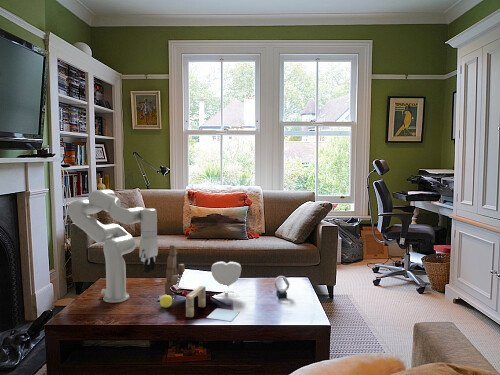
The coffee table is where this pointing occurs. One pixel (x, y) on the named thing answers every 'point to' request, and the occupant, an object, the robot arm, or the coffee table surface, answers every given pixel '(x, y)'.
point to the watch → (281, 293)
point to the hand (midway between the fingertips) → (149, 270)
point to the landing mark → (223, 314)
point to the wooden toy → (172, 270)
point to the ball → (166, 301)
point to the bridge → (190, 300)
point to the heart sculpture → (226, 275)
